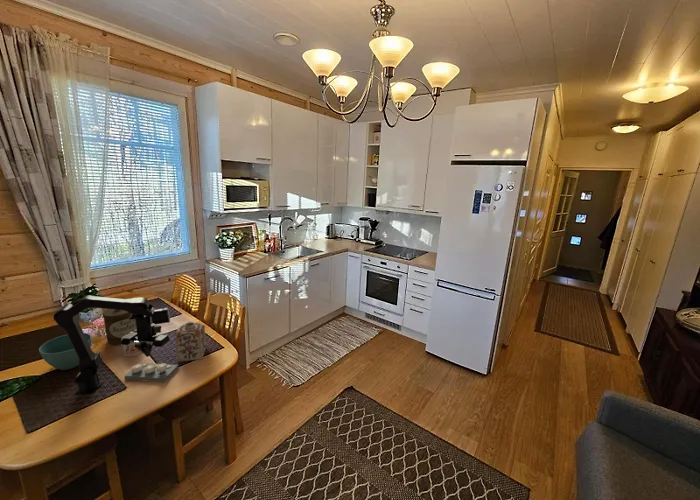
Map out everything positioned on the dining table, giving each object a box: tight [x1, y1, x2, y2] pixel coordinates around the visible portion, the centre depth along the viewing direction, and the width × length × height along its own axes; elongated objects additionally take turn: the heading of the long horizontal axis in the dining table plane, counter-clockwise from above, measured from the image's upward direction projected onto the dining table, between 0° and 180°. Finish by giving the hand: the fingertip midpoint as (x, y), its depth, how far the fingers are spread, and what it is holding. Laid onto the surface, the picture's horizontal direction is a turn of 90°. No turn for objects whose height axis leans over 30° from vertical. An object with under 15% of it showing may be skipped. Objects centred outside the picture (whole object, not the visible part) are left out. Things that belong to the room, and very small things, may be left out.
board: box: [124, 362, 179, 383], centre depth 142 cm, size 10×19×2 cm, turn 88°
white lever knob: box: [157, 362, 168, 374], centre depth 139 cm, size 4×4×4 cm
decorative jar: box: [175, 321, 207, 363], centre depth 156 cm, size 12×12×18 cm
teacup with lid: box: [121, 332, 143, 357], centre depth 157 cm, size 12×9×12 cm
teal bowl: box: [38, 332, 92, 371], centre depth 144 cm, size 18×18×12 cm
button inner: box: [131, 363, 142, 373], centre depth 140 cm, size 4×4×4 cm
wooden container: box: [102, 309, 136, 346], centre depth 167 cm, size 15×15×22 cm
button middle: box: [144, 365, 155, 374], centre depth 140 cm, size 4×4×4 cm
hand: (148, 356), depth 138 cm, fingers closed
